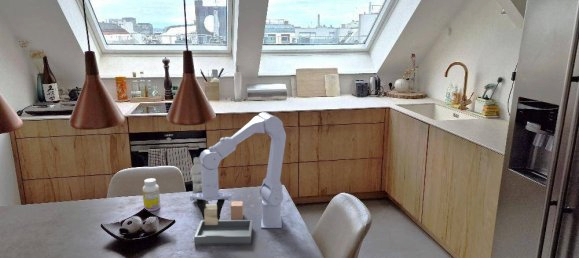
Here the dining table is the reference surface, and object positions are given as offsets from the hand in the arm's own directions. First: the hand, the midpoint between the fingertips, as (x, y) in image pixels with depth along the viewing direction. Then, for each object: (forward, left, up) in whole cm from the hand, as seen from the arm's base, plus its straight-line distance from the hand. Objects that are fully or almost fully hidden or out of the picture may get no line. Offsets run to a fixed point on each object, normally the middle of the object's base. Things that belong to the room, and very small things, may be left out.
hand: (211, 218), depth 147 cm
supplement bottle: (-25, -29, -8) cm, 39 cm away
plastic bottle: (-32, -10, -8) cm, 35 cm away
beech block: (0, 0, -2) cm, 2 cm away
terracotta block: (-16, +8, -8) cm, 19 cm away
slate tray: (0, +5, -7) cm, 9 cm away
